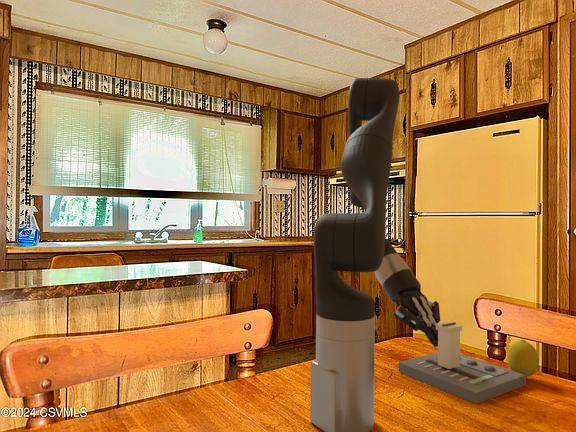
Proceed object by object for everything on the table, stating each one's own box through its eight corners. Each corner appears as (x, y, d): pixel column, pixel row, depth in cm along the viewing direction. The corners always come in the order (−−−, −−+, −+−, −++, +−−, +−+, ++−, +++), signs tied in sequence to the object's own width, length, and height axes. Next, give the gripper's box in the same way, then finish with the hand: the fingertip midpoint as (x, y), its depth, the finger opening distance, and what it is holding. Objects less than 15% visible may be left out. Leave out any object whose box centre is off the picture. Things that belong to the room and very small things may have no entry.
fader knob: (449, 369, 83) (450, 326, 83) (435, 364, 86) (435, 323, 86) (462, 366, 86) (462, 324, 86) (447, 361, 88) (448, 320, 88)
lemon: (545, 383, 83) (544, 343, 83) (518, 385, 83) (517, 344, 83) (527, 373, 89) (527, 335, 89) (501, 374, 88) (501, 335, 88)
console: (476, 404, 74) (476, 389, 74) (398, 371, 89) (398, 359, 89) (525, 385, 83) (525, 371, 83) (447, 358, 98) (447, 347, 98)
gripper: (384, 269, 92) (429, 340, 82) (424, 266, 99) (471, 330, 89) (366, 290, 97) (408, 359, 86) (406, 285, 104) (449, 349, 93)
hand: (440, 344), depth 88 cm, fingers closed
